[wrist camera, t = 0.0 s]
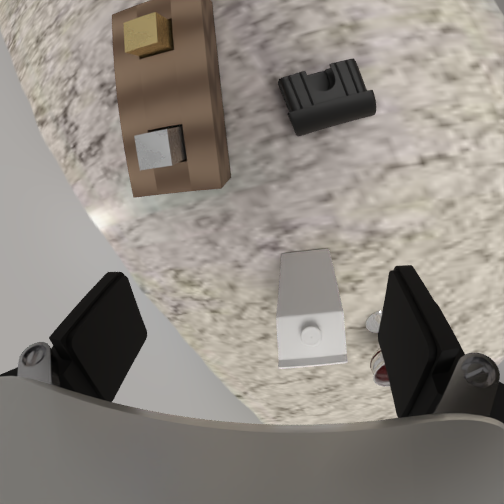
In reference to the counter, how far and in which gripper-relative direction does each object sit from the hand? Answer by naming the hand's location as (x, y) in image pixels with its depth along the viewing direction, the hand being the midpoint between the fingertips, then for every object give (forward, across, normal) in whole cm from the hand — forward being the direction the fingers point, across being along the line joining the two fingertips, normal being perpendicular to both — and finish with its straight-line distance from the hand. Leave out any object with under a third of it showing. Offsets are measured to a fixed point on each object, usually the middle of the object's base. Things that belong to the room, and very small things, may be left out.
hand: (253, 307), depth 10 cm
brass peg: (+27, +13, -18) cm, 35 cm away
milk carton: (+31, -3, +17) cm, 36 cm away
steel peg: (+27, +13, -4) cm, 30 cm away
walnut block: (+31, +13, -11) cm, 36 cm away
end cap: (+32, -6, -8) cm, 33 cm away
